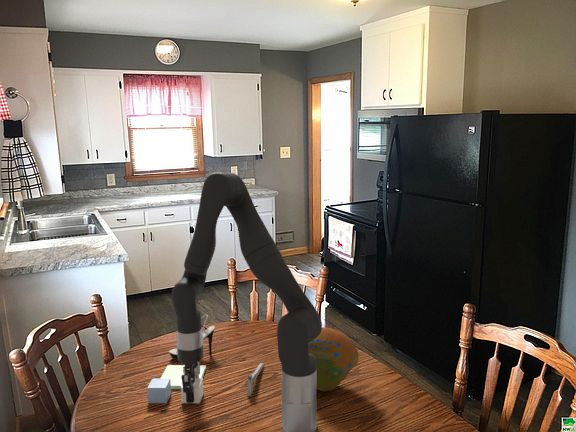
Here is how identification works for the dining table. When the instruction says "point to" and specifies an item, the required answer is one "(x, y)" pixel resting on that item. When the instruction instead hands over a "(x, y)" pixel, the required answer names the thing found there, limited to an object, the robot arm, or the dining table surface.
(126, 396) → the dining table surface
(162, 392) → the brick top
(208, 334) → the sandal
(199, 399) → the white cube
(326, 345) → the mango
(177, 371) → the base plate
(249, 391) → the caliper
